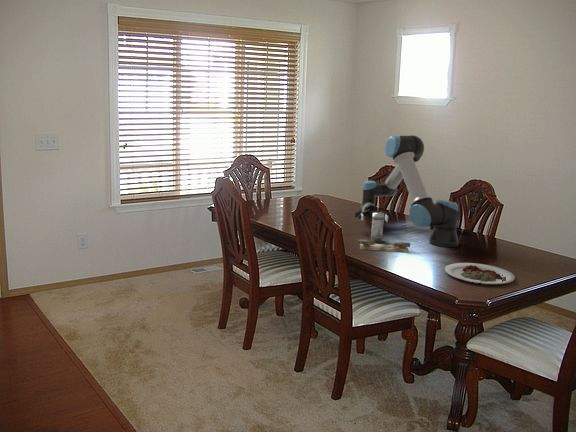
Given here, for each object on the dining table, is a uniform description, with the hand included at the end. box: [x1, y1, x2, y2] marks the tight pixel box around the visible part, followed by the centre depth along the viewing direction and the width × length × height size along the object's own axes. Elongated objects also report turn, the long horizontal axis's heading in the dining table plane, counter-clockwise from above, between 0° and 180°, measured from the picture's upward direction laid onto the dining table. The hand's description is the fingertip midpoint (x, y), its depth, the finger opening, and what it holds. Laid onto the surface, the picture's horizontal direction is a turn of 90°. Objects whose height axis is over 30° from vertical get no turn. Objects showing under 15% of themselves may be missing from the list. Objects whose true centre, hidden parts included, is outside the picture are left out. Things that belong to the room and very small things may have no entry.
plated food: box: [444, 262, 516, 285], centre depth 274 cm, size 30×30×3 cm
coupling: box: [370, 211, 385, 243], centre depth 328 cm, size 6×6×15 cm
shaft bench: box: [358, 239, 411, 253], centre depth 313 cm, size 26×8×4 cm, turn 85°
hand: (375, 218), depth 337 cm, fingers open, 13 cm apart
